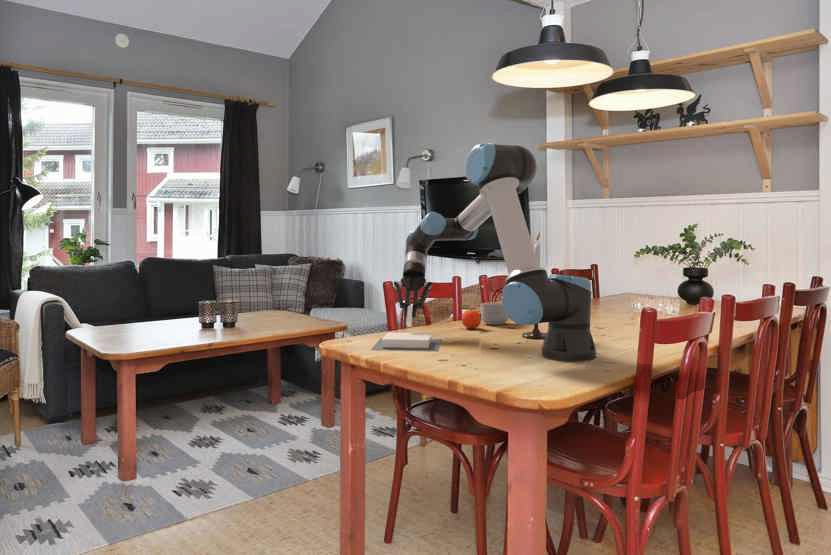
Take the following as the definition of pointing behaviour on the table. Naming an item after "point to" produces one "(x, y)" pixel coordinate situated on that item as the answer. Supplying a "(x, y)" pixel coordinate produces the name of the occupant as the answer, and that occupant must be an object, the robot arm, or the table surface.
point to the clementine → (471, 319)
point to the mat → (433, 347)
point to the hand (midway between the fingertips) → (409, 324)
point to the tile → (407, 340)
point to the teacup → (493, 313)
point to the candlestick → (536, 332)
